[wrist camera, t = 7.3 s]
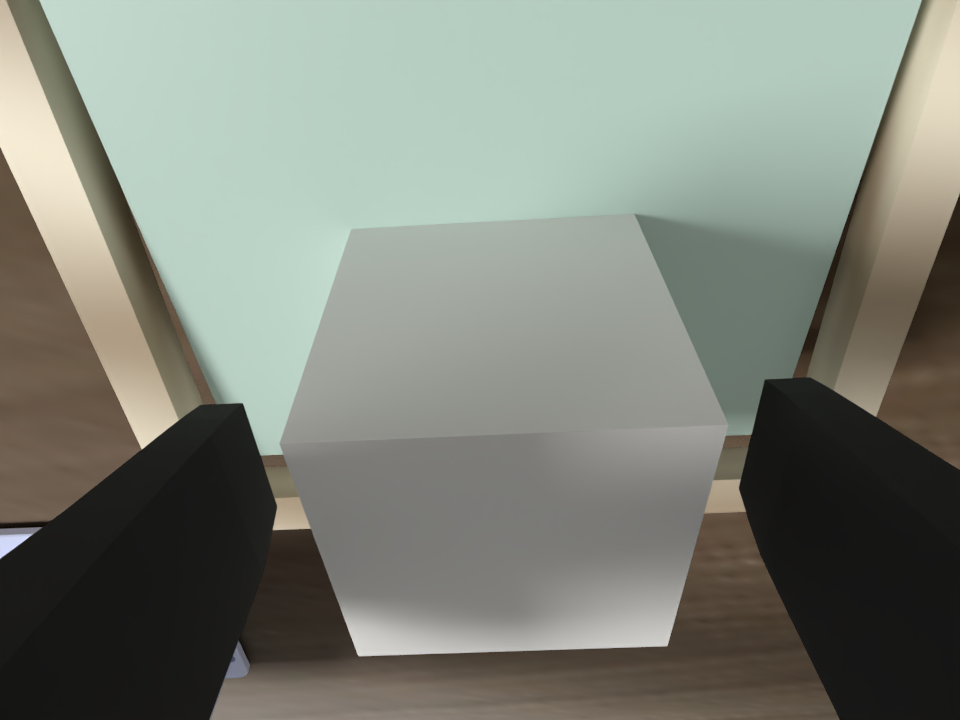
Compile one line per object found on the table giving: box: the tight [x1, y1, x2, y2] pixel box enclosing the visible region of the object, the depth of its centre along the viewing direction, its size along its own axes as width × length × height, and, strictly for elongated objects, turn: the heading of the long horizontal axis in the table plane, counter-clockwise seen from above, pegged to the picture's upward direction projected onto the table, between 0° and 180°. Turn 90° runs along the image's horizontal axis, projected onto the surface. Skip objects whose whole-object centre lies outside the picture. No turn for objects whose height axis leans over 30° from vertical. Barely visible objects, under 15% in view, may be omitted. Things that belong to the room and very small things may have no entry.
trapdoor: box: [39, 0, 922, 455], centre depth 9 cm, size 16×12×4 cm
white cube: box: [279, 214, 728, 656], centre depth 10 cm, size 5×5×5 cm
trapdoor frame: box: [0, 0, 960, 530], centre depth 13 cm, size 12×15×6 cm
